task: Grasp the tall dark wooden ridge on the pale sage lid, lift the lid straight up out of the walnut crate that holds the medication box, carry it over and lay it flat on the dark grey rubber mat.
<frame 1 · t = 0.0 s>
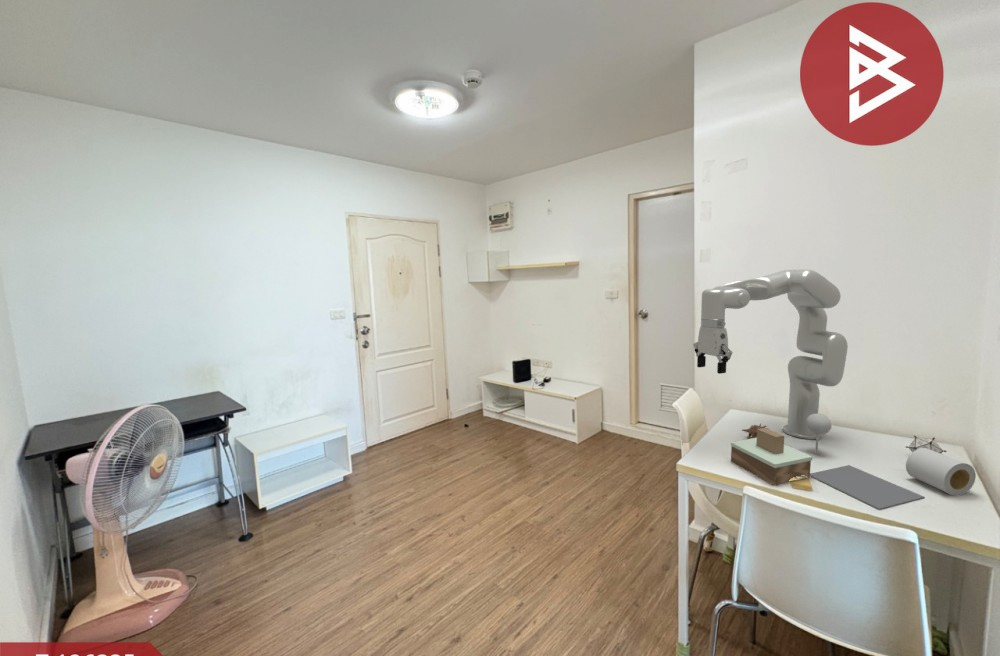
hand: (711, 369, 145), 31 cm above the table, fingers open, 9 cm apart
lollipop: (816, 454, 143), on the table
dinosaur figurine: (755, 443, 154), on the table
crate: (768, 469, 134), on the table
toilet paper: (937, 487, 120), on the table
grey rod frame: (924, 460, 136), on the table
medication box: (768, 470, 134), resting in crate
mat: (862, 486, 122), on the table
lid: (769, 452, 133), point 6 cm above the table, touching crate
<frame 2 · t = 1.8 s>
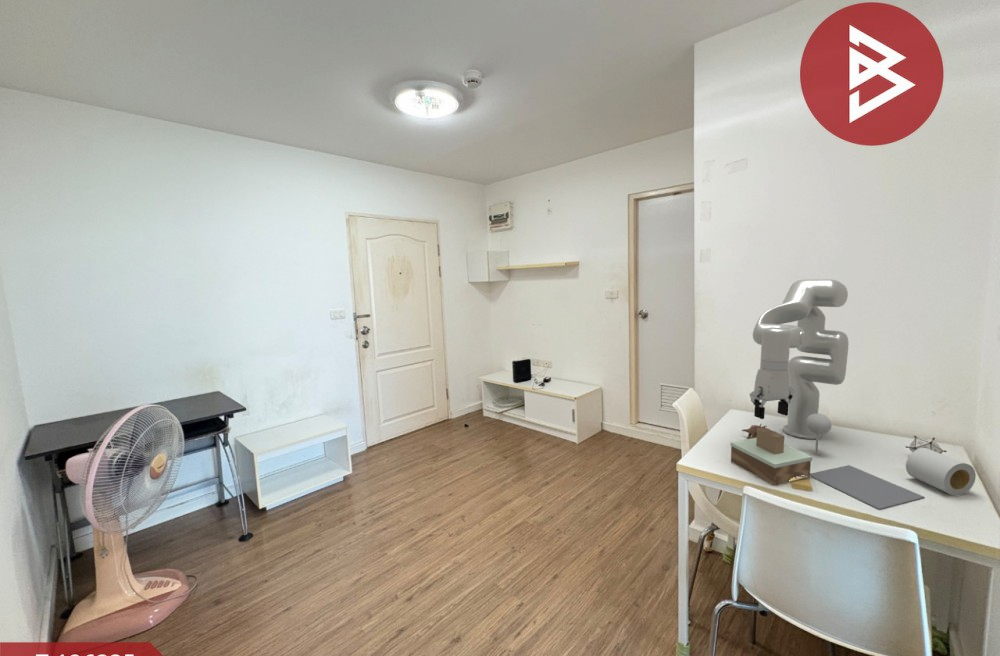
hand: (770, 415, 131), 19 cm above the table, fingers open, 9 cm apart
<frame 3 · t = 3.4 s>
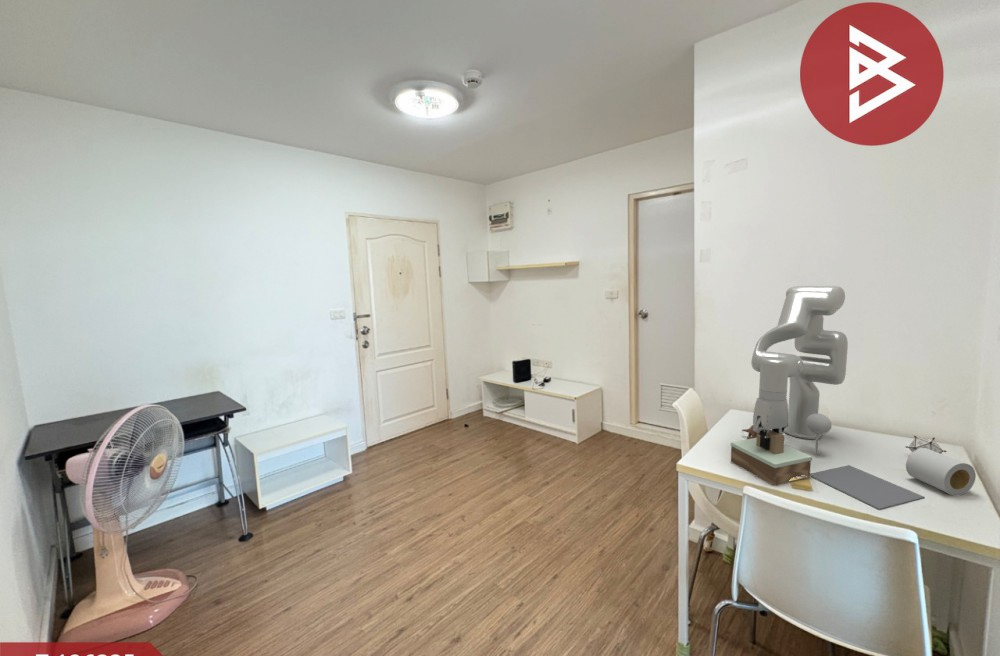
hand: (769, 446, 133), 8 cm above the table, fingers closed on lid, 3 cm apart
lid: (769, 452, 133), point 6 cm above the table, touching crate, gripper
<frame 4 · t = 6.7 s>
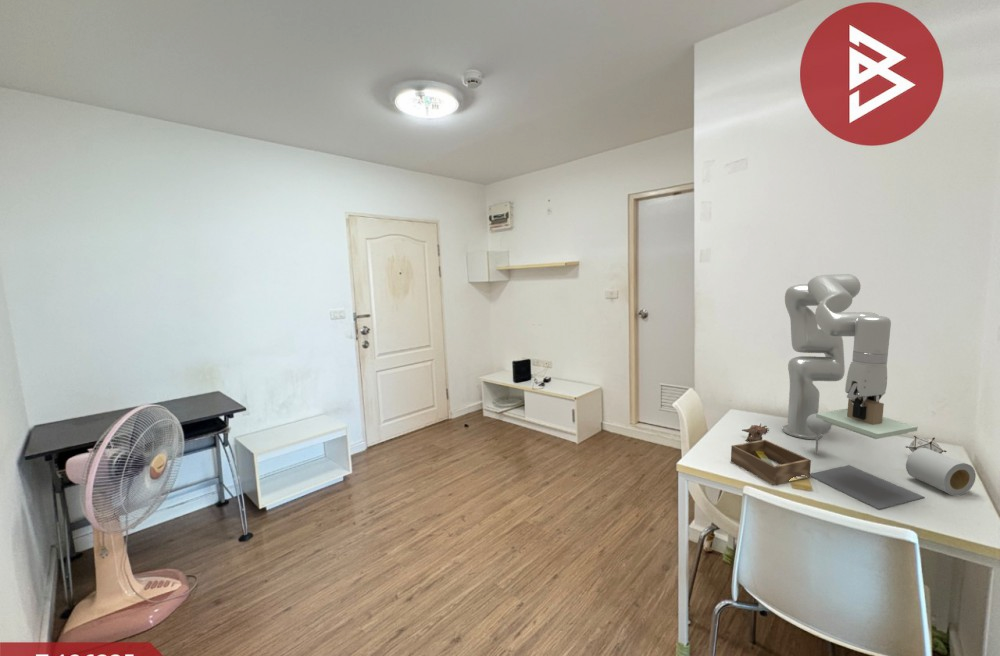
hand: (864, 416, 119), 22 cm above the table, fingers closed on lid, 3 cm apart
lid: (863, 423, 120), point 20 cm above the table, touching gripper
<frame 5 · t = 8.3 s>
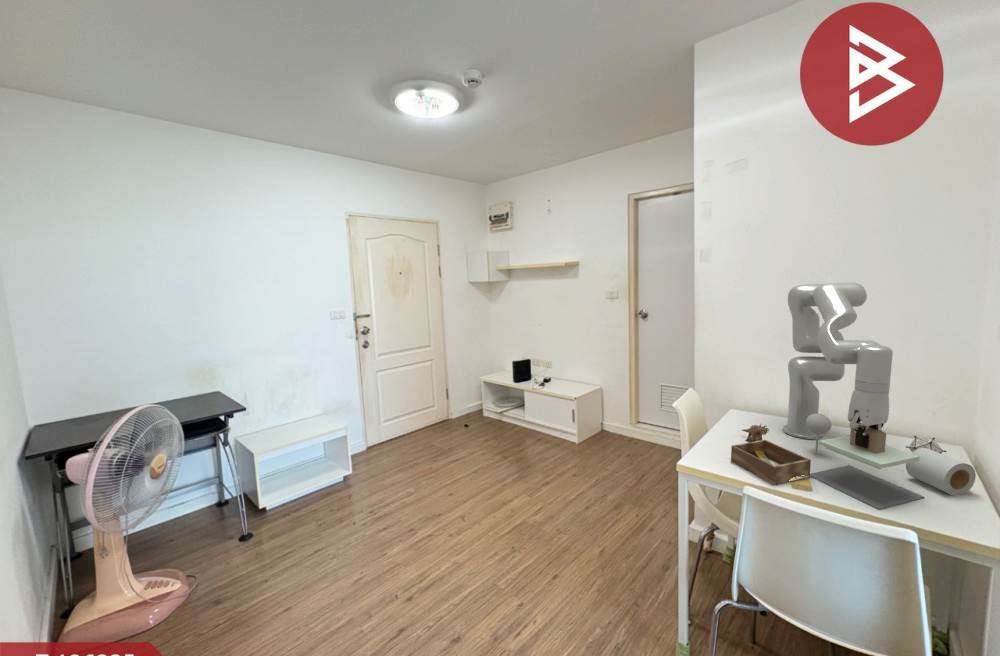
hand: (866, 444, 120), 13 cm above the table, fingers closed on lid, 3 cm apart
lid: (866, 451, 120), point 11 cm above the table, touching gripper
when the fingers open (5 cm above the table, at t = 9.9 s): lid drops 1 cm, resting on mat.
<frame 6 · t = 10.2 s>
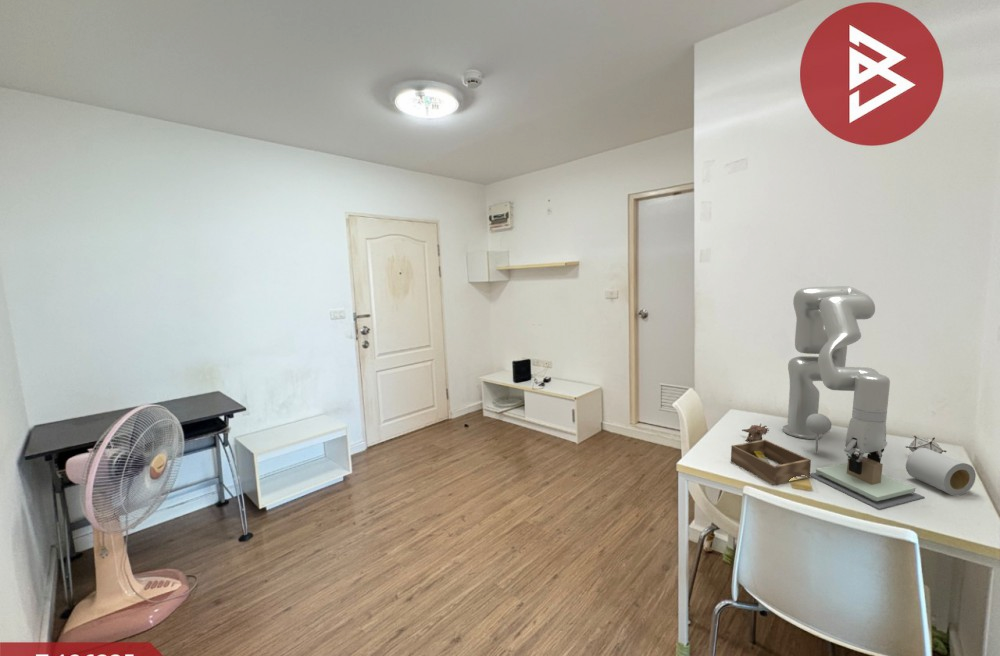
hand: (863, 469, 121), 5 cm above the table, fingers open, 6 cm apart
lid: (862, 481, 122), point 1 cm above the table, touching mat
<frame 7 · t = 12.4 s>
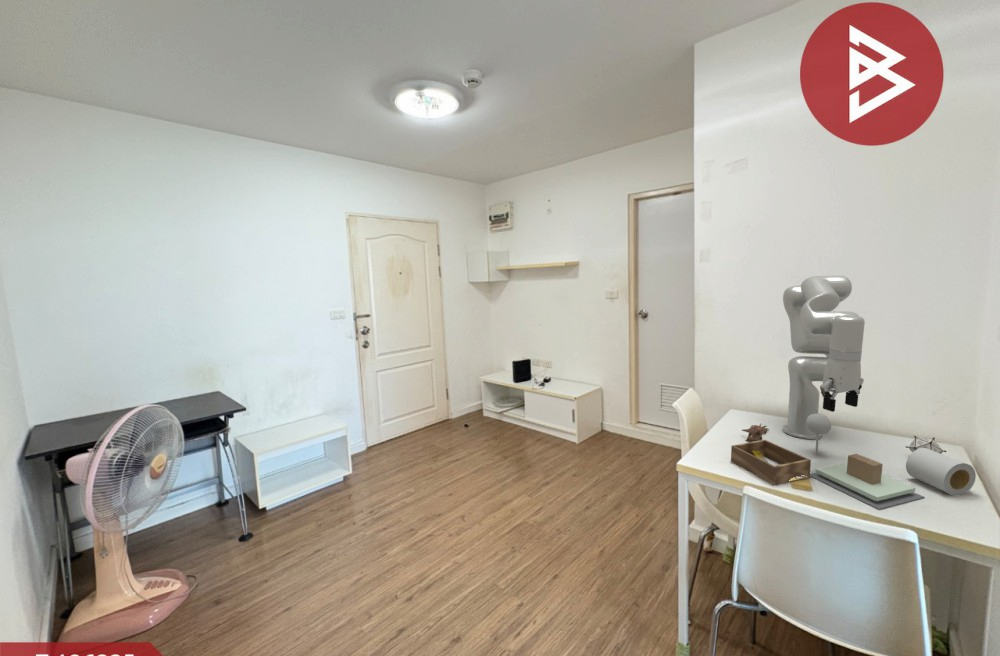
hand: (839, 407, 125), 23 cm above the table, fingers open, 9 cm apart
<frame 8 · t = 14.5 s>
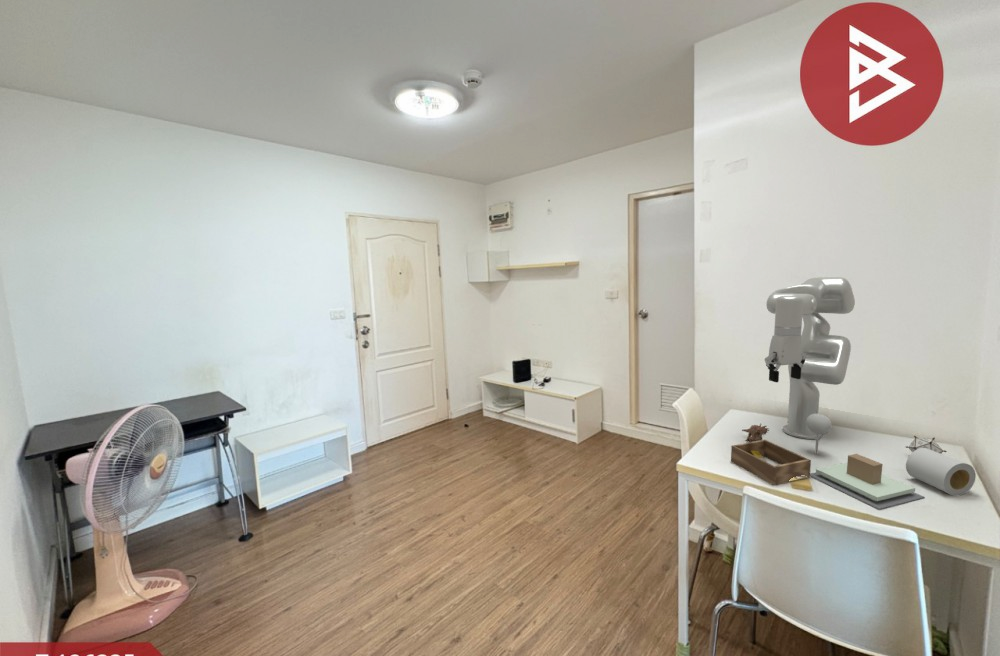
hand: (784, 379, 139), 28 cm above the table, fingers open, 9 cm apart
at the end: lid inside the target area on the mat (0.1 cm from its centre), point 1.4 cm above the mat's base; lid tilted 0°; lid touching mat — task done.
